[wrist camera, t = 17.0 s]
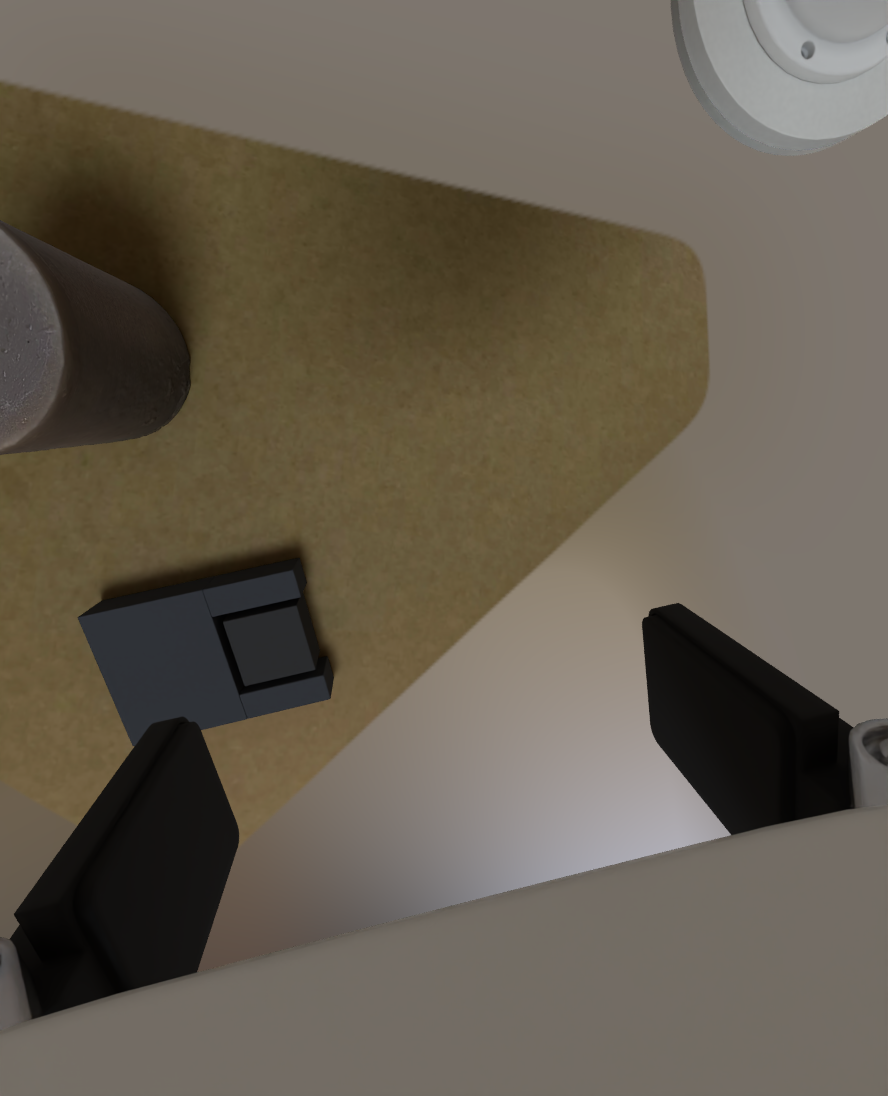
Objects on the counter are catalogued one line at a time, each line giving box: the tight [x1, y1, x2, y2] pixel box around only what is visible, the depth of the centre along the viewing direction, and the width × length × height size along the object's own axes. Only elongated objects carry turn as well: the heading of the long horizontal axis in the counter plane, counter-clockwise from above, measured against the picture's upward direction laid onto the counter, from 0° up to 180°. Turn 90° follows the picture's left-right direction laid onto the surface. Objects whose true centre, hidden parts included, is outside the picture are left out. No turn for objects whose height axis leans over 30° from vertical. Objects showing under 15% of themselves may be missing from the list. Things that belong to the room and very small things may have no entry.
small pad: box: [223, 593, 320, 686], centre depth 37 cm, size 5×5×3 cm
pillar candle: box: [0, 220, 190, 455], centre depth 25 cm, size 10×10×15 cm
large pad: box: [78, 558, 334, 746], centre depth 36 cm, size 14×10×3 cm
